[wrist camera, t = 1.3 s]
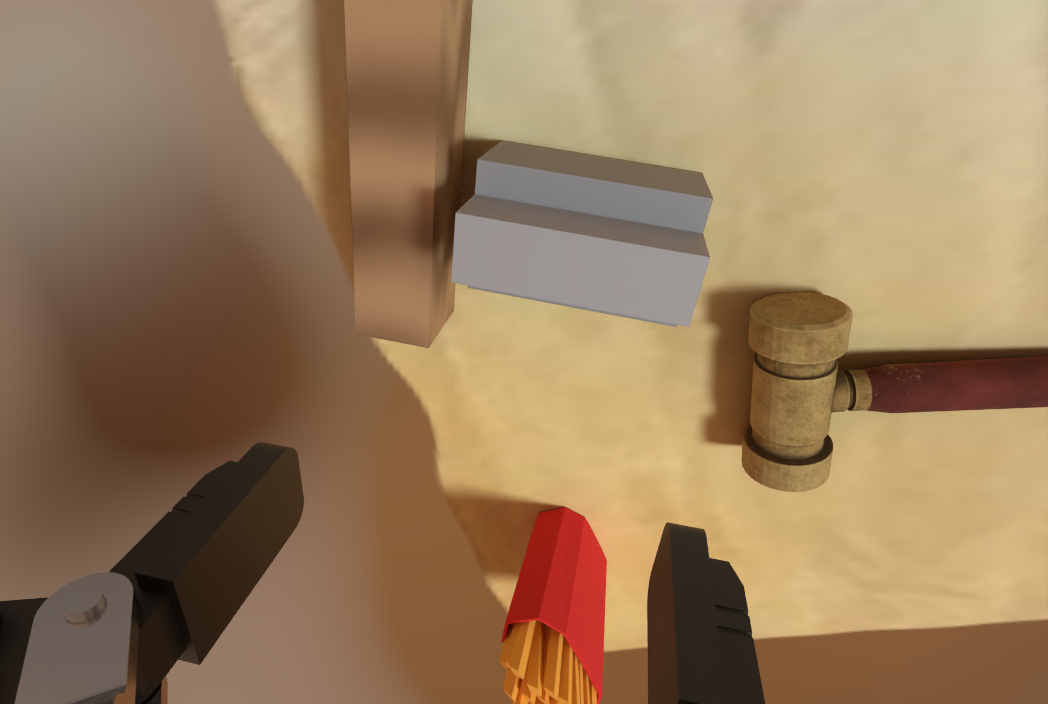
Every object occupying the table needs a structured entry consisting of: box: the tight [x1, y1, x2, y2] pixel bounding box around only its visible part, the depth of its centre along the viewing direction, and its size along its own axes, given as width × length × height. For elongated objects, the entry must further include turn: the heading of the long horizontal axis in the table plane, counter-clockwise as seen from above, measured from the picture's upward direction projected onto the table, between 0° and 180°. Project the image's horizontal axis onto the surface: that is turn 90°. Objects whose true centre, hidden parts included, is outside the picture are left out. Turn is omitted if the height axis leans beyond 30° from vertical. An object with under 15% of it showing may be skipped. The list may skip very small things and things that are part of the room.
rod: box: [344, 0, 473, 348], centre depth 27 cm, size 24×4×5 cm, turn 173°
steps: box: [451, 141, 713, 327], centre depth 27 cm, size 6×10×8 cm, turn 83°
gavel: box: [742, 292, 1048, 492], centre depth 29 cm, size 21×5×10 cm
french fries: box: [499, 507, 607, 704], centre depth 36 cm, size 9×4×13 cm, turn 24°
